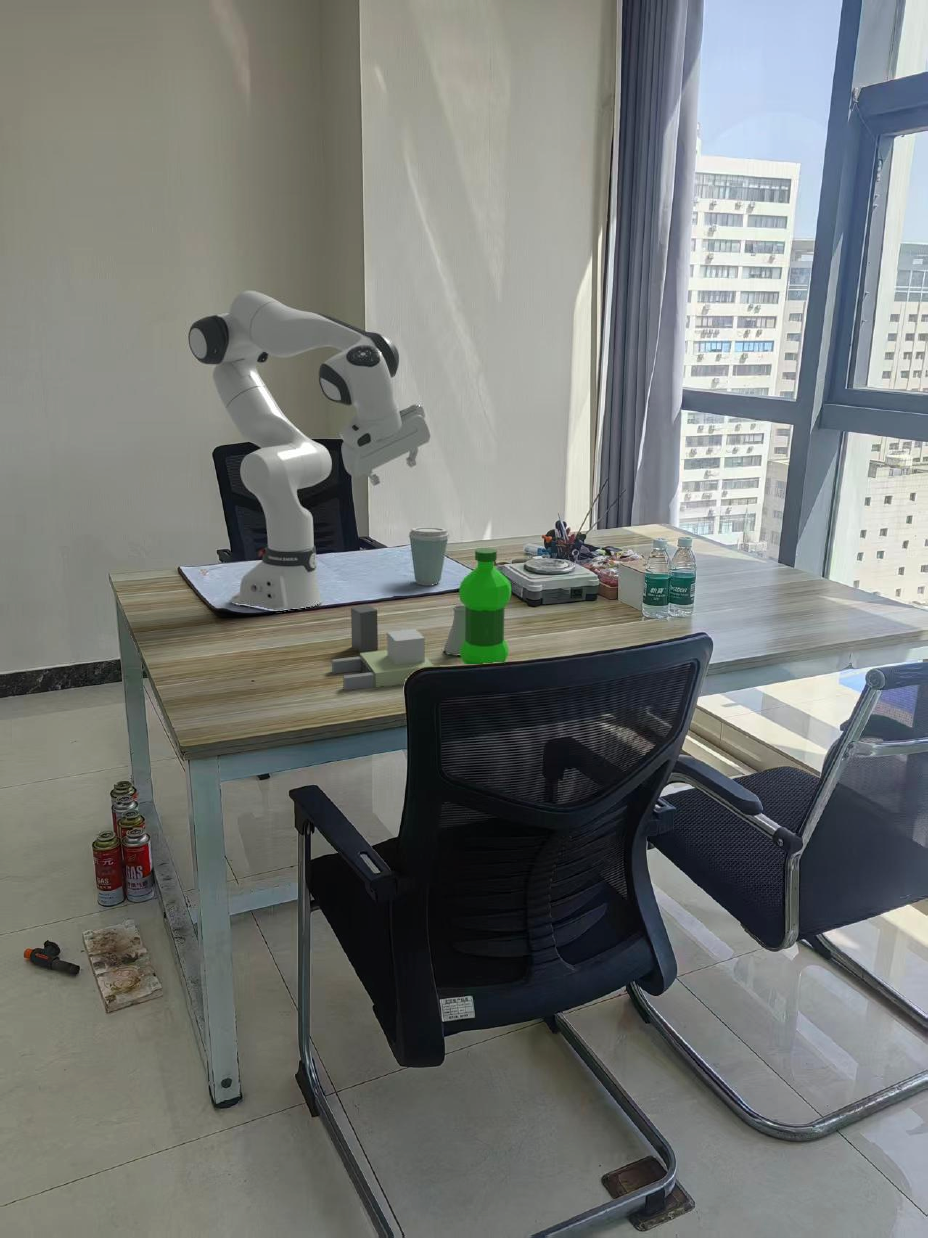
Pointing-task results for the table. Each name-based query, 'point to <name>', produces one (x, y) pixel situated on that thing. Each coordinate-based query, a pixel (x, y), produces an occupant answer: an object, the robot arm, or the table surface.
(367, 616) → the chute block
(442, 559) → the disposable coffee cup
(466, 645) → the plastic bottle
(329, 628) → the table surface
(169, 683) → the table surface
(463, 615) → the flask
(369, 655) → the pronged platform block
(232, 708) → the table surface
